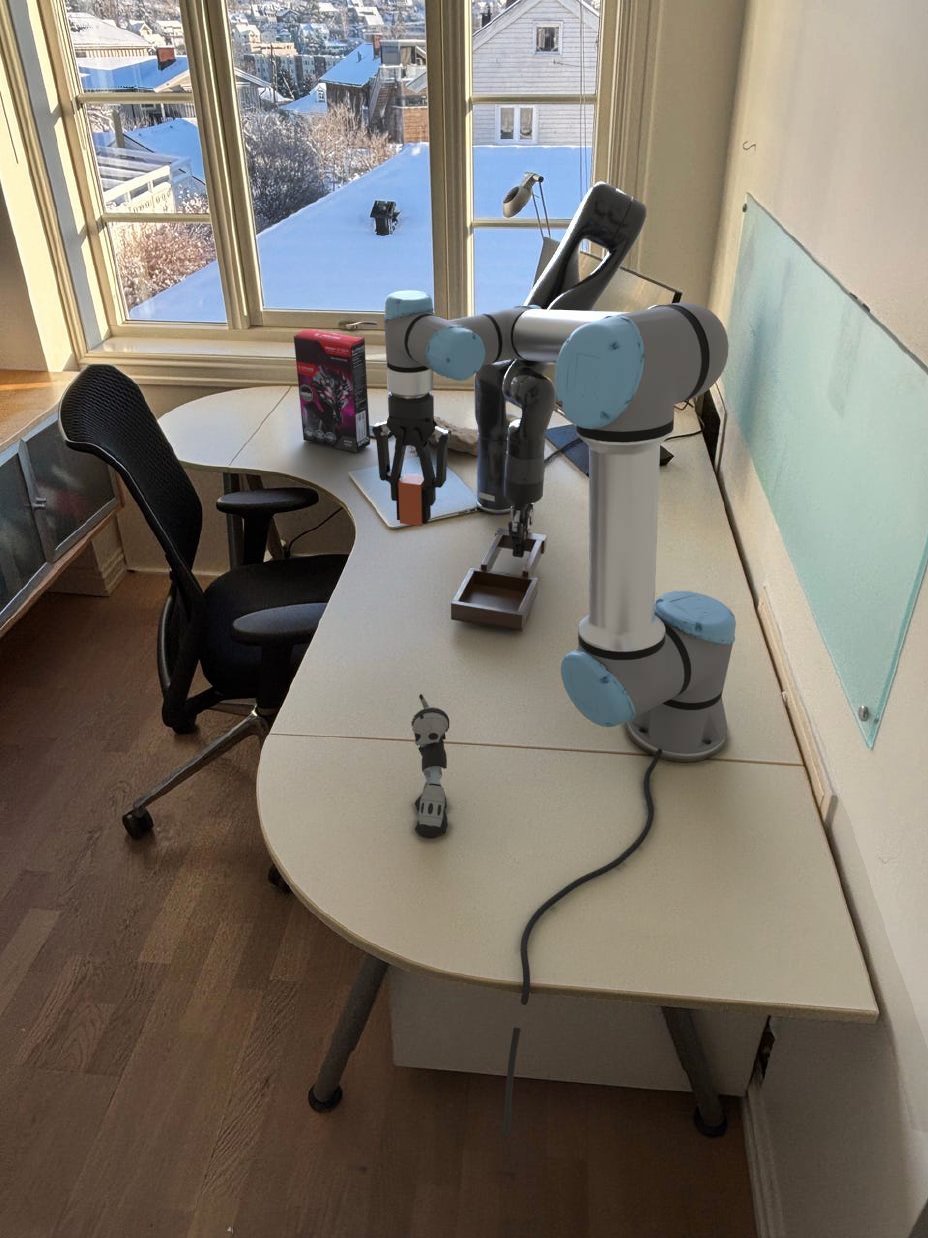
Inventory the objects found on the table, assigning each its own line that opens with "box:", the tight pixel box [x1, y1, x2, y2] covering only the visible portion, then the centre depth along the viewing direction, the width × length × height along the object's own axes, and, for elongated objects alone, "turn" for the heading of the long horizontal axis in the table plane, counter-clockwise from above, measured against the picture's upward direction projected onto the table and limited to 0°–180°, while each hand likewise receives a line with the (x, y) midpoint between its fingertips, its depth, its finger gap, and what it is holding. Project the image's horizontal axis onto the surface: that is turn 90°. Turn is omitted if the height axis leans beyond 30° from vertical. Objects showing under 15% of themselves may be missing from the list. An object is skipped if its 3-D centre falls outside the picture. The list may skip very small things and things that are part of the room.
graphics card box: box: [293, 328, 371, 453], centre depth 227 cm, size 17×7×27 cm, turn 62°
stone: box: [428, 415, 478, 457], centre depth 232 cm, size 21×15×6 cm
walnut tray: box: [450, 527, 548, 632], centre depth 174 cm, size 28×13×4 cm, turn 164°
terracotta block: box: [398, 472, 425, 527], centre depth 161 cm, size 4×4×8 cm
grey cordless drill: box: [410, 693, 450, 839], centre depth 122 cm, size 20×5×20 cm, turn 3°
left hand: (520, 552), depth 185 cm, fingers closed on walnut tray, 2 cm apart
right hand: (413, 518), depth 164 cm, fingers closed on terracotta block, 4 cm apart
